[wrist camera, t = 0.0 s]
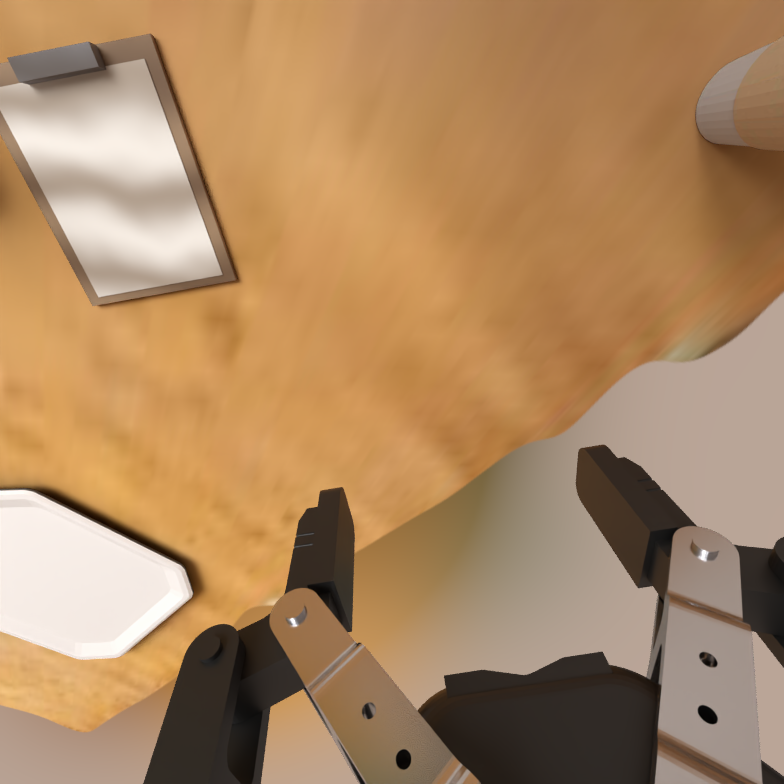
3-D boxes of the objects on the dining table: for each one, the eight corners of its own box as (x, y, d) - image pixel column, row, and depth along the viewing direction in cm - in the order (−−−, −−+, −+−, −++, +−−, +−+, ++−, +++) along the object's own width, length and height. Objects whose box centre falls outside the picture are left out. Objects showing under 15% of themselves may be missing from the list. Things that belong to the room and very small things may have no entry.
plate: (216, 568, 58) (211, 582, 56) (113, 656, 66) (105, 670, 64) (3, 458, 47) (-13, 471, 45) (-88, 580, 55) (-104, 595, 53)
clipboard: (-29, 71, 30) (-48, 66, 29) (153, 35, 30) (142, 29, 28) (95, 304, 39) (85, 309, 37) (237, 278, 38) (232, 282, 37)
